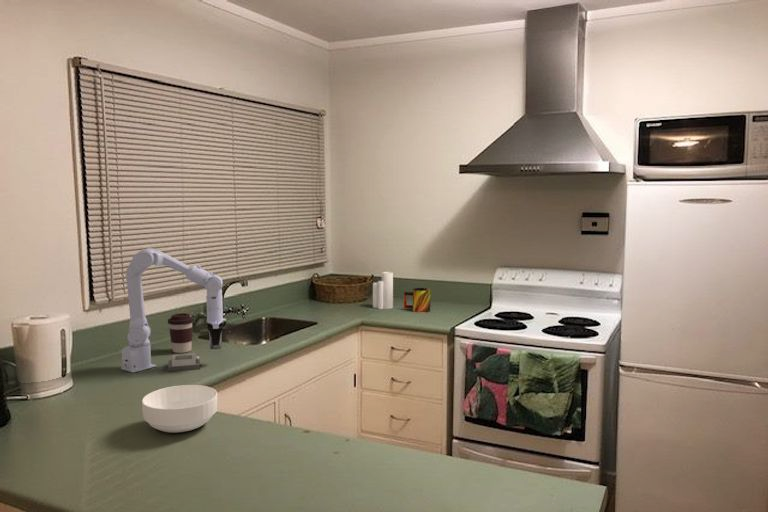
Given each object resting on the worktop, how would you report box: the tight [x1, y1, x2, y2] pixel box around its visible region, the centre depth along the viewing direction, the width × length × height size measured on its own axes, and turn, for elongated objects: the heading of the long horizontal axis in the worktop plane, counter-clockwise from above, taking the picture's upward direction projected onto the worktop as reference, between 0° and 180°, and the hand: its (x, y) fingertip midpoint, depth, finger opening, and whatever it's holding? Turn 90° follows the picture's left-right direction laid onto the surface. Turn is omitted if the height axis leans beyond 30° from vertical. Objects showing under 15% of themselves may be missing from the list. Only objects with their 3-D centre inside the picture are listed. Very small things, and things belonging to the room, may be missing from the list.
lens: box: [208, 331, 223, 350], centre depth 220 cm, size 5×5×6 cm
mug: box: [403, 287, 432, 313], centre depth 322 cm, size 10×14×12 cm
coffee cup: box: [167, 312, 195, 354], centre depth 238 cm, size 10×10×15 cm
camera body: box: [167, 353, 201, 373], centre depth 217 cm, size 11×9×4 cm
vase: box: [372, 271, 394, 310], centre depth 330 cm, size 11×7×20 cm, turn 93°
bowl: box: [141, 384, 218, 433], centre depth 162 cm, size 20×20×8 cm
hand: (215, 343), depth 220 cm, fingers closed on lens, 4 cm apart
